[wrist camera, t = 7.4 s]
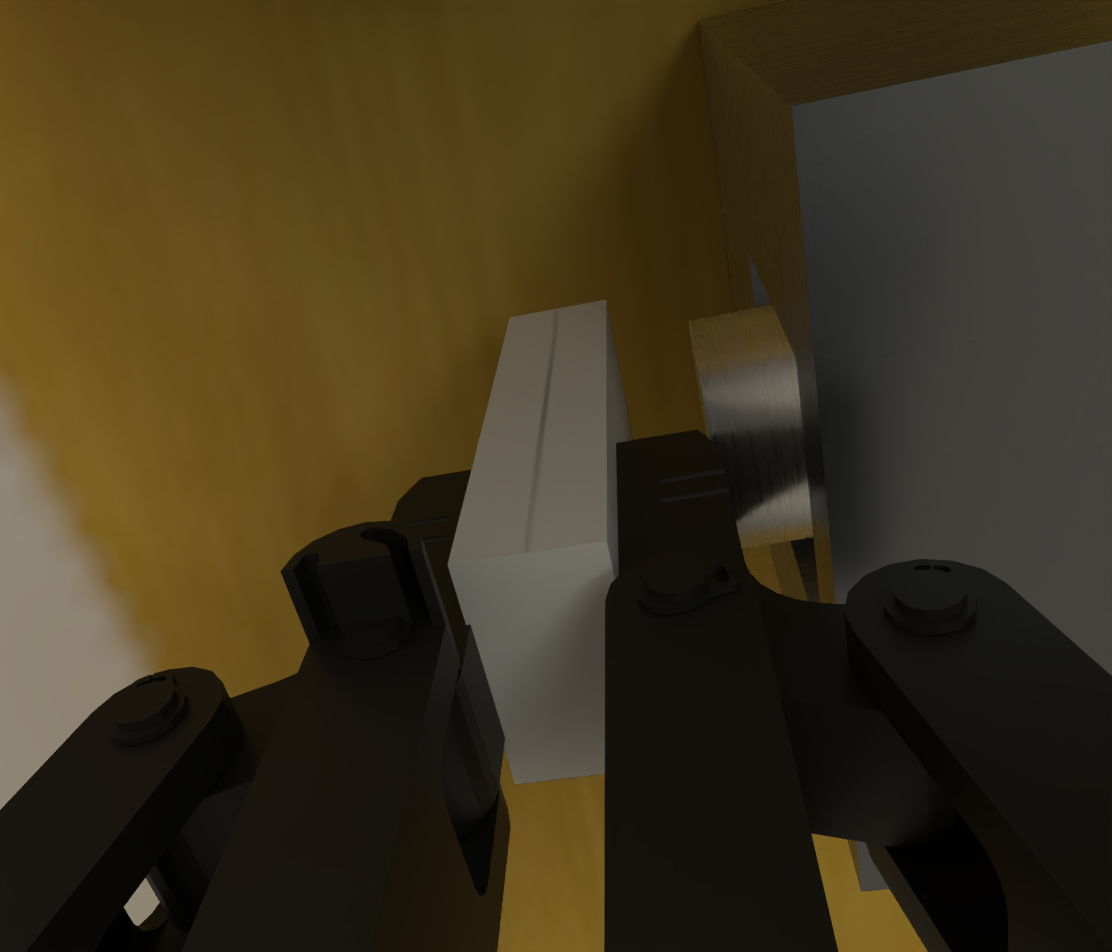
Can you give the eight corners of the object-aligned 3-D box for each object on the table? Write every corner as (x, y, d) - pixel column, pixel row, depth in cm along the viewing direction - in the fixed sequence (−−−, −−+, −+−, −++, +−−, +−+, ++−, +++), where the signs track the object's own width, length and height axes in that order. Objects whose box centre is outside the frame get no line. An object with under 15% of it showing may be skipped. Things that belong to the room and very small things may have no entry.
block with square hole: (698, 20, 16) (792, 104, 8) (1245, -100, 14) (2013, -143, 7) (759, 508, 20) (860, 891, 12) (1188, 444, 19) (1617, 818, 11)
